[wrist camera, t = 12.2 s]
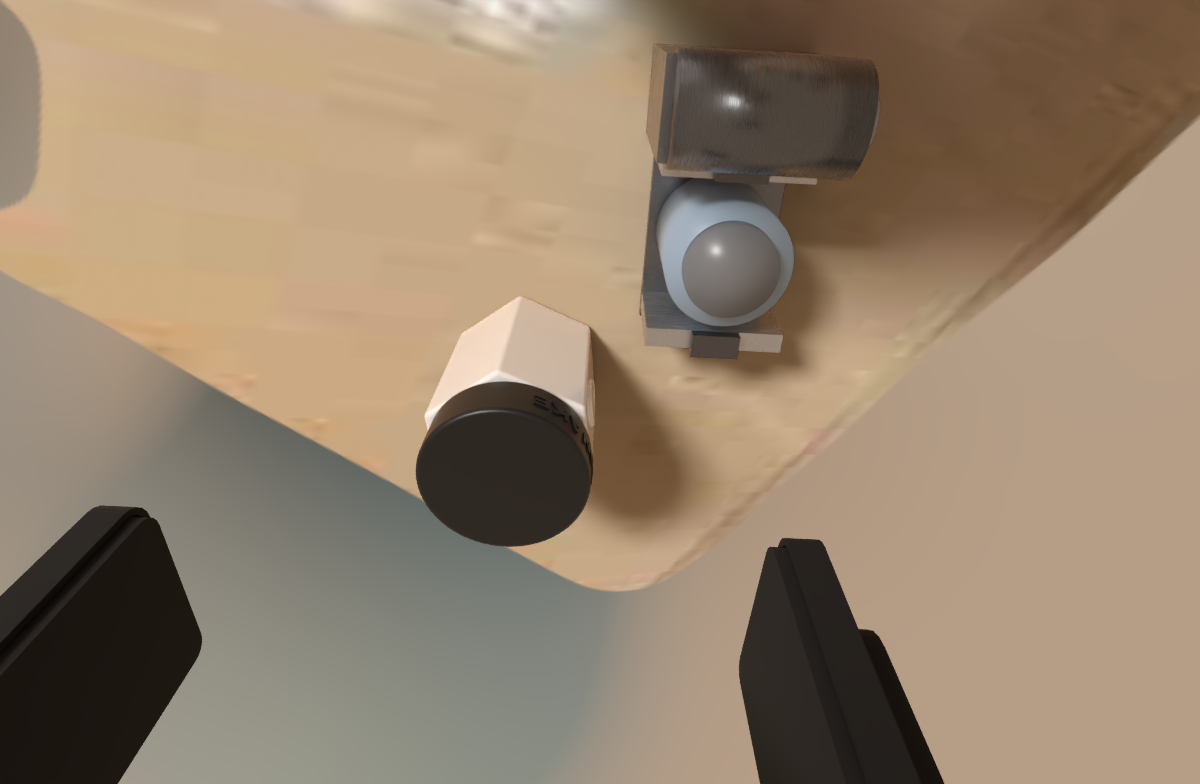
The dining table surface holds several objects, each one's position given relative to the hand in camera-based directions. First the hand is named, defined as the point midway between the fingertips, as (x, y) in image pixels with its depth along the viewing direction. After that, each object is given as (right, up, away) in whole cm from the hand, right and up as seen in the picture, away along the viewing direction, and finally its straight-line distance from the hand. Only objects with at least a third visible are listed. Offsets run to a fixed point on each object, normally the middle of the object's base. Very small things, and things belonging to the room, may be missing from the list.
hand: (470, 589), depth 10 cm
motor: (+8, +14, +25) cm, 29 cm away
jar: (-2, +5, +30) cm, 31 cm away
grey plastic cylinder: (+8, +12, +25) cm, 29 cm away
